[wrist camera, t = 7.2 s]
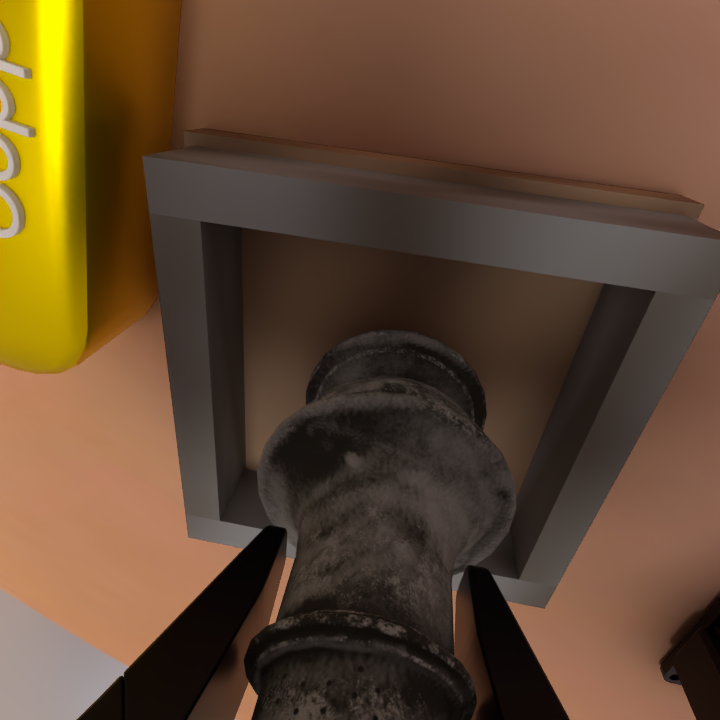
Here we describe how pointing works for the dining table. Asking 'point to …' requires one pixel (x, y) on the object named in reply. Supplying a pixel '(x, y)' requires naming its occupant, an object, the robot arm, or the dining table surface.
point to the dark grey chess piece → (378, 533)
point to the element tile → (79, 171)
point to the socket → (421, 315)
